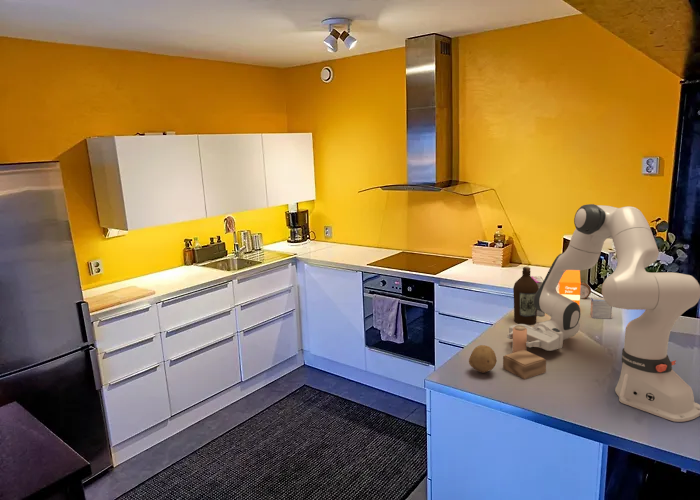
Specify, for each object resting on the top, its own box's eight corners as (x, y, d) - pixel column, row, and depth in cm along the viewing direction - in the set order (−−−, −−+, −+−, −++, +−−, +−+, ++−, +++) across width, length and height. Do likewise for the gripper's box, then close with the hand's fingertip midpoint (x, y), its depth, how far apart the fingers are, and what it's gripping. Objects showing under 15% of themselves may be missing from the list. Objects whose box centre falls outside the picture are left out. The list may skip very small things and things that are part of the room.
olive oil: (510, 317, 219) (511, 265, 214) (533, 317, 218) (535, 264, 213) (515, 325, 208) (517, 270, 203) (540, 325, 207) (542, 270, 202)
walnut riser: (545, 372, 164) (546, 358, 163) (524, 379, 160) (524, 365, 159) (523, 361, 173) (524, 349, 172) (503, 368, 168) (503, 355, 167)
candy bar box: (529, 308, 230) (530, 276, 227) (540, 308, 229) (541, 276, 226) (533, 316, 219) (534, 282, 216) (544, 316, 218) (546, 282, 215)
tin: (590, 298, 241) (591, 282, 239) (590, 300, 238) (590, 284, 237) (558, 295, 249) (559, 279, 247) (557, 296, 246) (558, 281, 245)
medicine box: (609, 316, 215) (610, 297, 213) (611, 319, 211) (612, 300, 209) (590, 315, 217) (591, 297, 216) (592, 318, 213) (593, 300, 211)
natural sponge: (501, 376, 162) (502, 349, 160) (477, 380, 160) (477, 352, 158) (488, 365, 171) (489, 339, 169) (466, 369, 169) (466, 342, 167)
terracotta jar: (529, 354, 179) (530, 327, 176) (519, 357, 176) (520, 330, 174) (519, 350, 183) (519, 323, 181) (509, 353, 181) (510, 326, 179)
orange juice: (579, 312, 221) (581, 271, 217) (558, 311, 224) (560, 270, 220) (576, 307, 228) (578, 267, 225) (557, 306, 231) (558, 266, 227)
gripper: (524, 318, 193) (498, 324, 187) (566, 333, 175) (539, 341, 169) (523, 332, 194) (498, 339, 188) (565, 349, 176) (538, 357, 170)
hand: (517, 340), depth 178 cm, fingers open, 8 cm apart
